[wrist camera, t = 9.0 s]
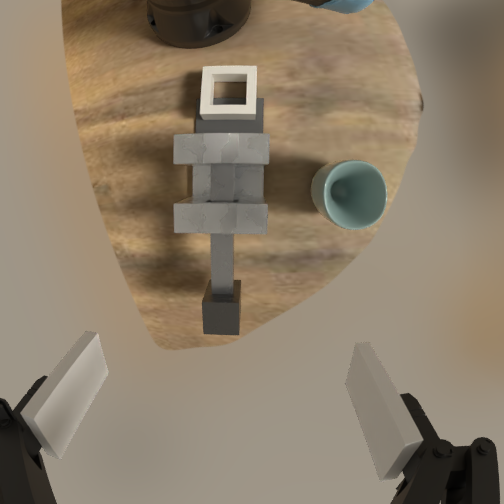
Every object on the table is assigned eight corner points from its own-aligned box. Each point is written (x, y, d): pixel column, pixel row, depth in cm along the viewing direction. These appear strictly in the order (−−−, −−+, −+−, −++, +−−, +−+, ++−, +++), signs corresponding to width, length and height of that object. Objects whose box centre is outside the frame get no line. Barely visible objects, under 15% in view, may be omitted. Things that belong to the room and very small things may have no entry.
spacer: (203, 119, 37) (206, 74, 35) (255, 119, 37) (256, 74, 35) (199, 114, 34) (203, 66, 32) (255, 113, 34) (256, 66, 33)
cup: (307, 219, 41) (324, 233, 31) (302, 163, 39) (319, 160, 29) (359, 215, 41) (389, 228, 31) (356, 160, 39) (386, 158, 29)
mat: (197, 99, 36) (196, 98, 36) (263, 98, 36) (263, 98, 36) (195, 140, 38) (195, 140, 38) (262, 140, 38) (262, 140, 38)
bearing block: (194, 140, 38) (174, 129, 27) (264, 140, 38) (269, 128, 27) (194, 220, 41) (174, 237, 30) (262, 221, 41) (266, 239, 30)
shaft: (209, 143, 34) (200, 137, 27) (243, 143, 34) (241, 136, 27) (210, 307, 39) (203, 334, 32) (240, 308, 39) (239, 335, 33)
